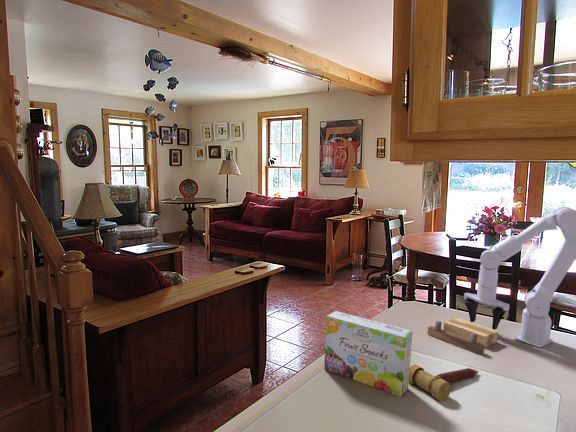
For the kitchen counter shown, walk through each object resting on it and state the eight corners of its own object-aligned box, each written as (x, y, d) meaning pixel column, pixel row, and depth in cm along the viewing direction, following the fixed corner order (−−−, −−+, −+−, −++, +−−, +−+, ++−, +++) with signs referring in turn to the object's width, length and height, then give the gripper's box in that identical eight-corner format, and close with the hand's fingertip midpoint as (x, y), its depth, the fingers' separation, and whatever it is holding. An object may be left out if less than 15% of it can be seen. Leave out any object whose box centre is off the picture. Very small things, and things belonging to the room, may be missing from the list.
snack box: (322, 370, 110) (325, 315, 108) (333, 363, 114) (335, 309, 113) (401, 398, 98) (406, 336, 96) (409, 388, 102) (414, 329, 101)
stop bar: (431, 333, 139) (432, 318, 138) (484, 353, 125) (485, 337, 124) (427, 334, 137) (428, 319, 137) (480, 354, 123) (482, 338, 123)
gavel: (462, 355, 115) (495, 371, 107) (460, 371, 116) (493, 388, 107) (407, 365, 105) (439, 384, 96) (405, 383, 105) (436, 403, 97)
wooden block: (456, 328, 144) (457, 317, 144) (497, 343, 133) (498, 331, 133) (443, 333, 140) (444, 322, 139) (483, 349, 129) (484, 336, 128)
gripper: (515, 289, 137) (511, 329, 138) (473, 279, 148) (469, 316, 149) (505, 292, 132) (500, 334, 134) (462, 281, 144) (458, 320, 145)
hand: (483, 325), depth 141 cm, fingers open, 7 cm apart
